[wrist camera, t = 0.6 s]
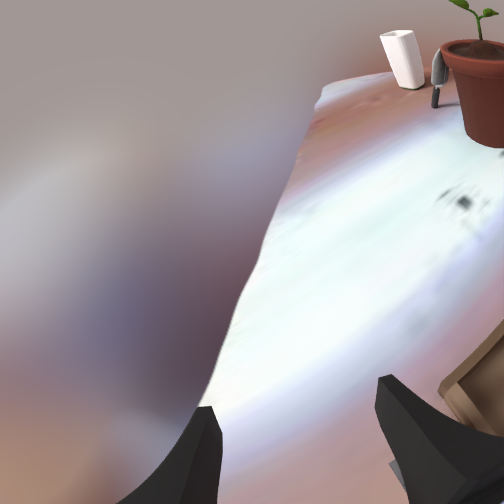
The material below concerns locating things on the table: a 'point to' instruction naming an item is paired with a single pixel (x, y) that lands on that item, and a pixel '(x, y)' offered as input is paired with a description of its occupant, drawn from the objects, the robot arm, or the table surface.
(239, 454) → the table surface
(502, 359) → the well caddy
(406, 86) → the cup
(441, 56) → the potted plant
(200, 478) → the robot arm
